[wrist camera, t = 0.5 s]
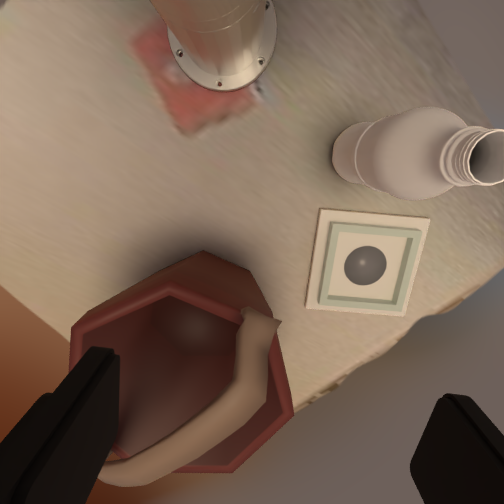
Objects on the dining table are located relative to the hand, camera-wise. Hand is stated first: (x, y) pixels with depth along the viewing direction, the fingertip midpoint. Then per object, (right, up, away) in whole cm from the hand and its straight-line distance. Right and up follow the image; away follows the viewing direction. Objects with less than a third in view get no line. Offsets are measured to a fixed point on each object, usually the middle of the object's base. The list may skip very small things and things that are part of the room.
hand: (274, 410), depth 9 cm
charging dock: (+15, +3, +36) cm, 40 cm away
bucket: (-7, -4, +39) cm, 40 cm away
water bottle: (+13, +18, +32) cm, 39 cm away
